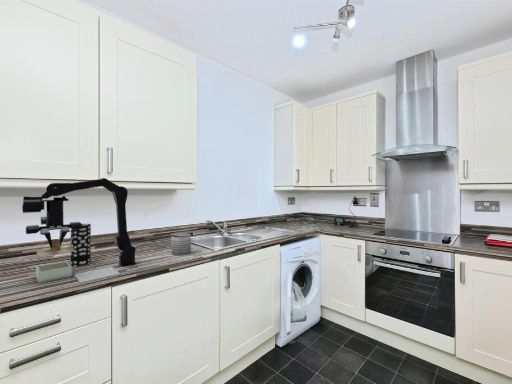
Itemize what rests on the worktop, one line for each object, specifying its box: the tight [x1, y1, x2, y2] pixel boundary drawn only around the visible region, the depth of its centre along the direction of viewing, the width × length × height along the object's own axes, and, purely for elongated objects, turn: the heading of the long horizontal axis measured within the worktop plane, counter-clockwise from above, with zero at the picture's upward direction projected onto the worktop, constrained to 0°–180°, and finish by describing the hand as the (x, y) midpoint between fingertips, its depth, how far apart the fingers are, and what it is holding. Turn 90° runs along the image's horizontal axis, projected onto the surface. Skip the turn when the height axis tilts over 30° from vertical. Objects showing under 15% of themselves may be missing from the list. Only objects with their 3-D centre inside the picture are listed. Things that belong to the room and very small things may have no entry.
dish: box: [35, 260, 73, 284], centre depth 107 cm, size 11×11×4 cm
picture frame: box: [73, 266, 121, 284], centre depth 109 cm, size 15×13×1 cm
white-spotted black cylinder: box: [70, 223, 92, 267], centre depth 125 cm, size 8×8×20 cm
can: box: [170, 232, 192, 257], centre depth 147 cm, size 11×11×12 cm
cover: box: [35, 238, 75, 258], centre depth 107 cm, size 12×12×5 cm
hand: (55, 247), depth 107 cm, fingers closed on cover, 2 cm apart
